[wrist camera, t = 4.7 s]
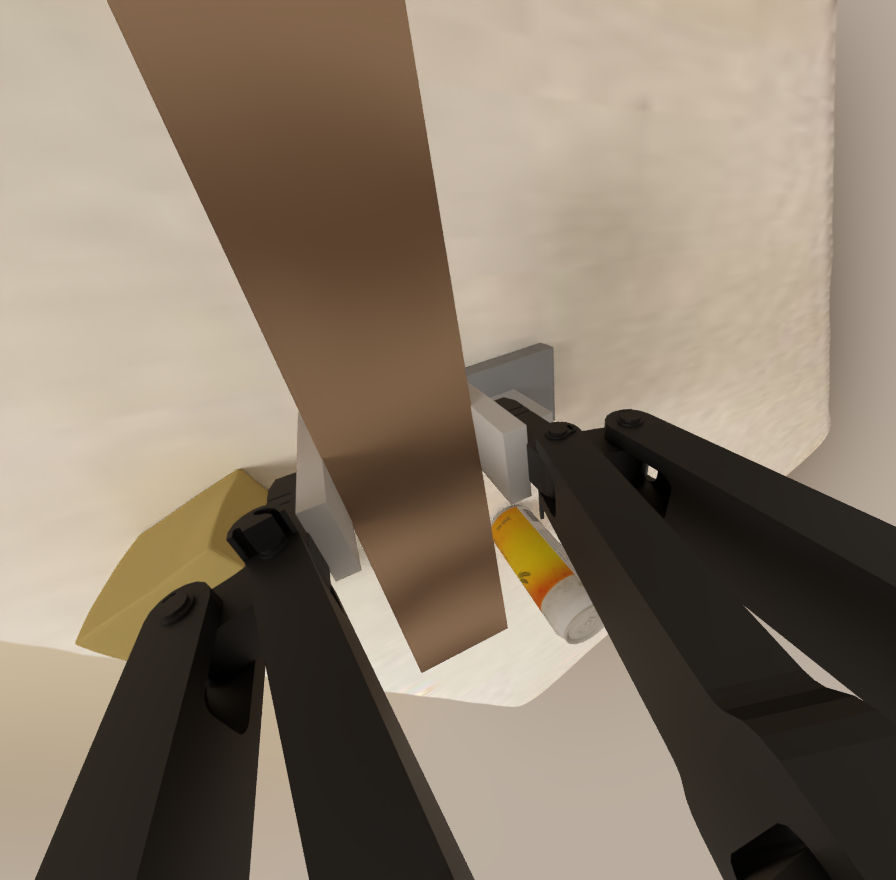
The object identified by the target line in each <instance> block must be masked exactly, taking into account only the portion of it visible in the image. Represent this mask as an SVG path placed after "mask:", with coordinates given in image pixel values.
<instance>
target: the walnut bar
mask: <svg viewBox="0 0 896 880" xmlns="http://www.w3.org/2000/svg"><path fill="white" fill-rule="evenodd" d="M107 2H108V4H109V6H110V8H111V11H112V13H113V15H114V17H115V19H116V21H117V23H118V25H119V28H120V30H121V32H122V34H123V36H124V38H125V40H126V43H127V45H128V47H129V49H130V51H131V53H132V55H133V57H134V60H135V62H136V64H137V66H138V68H139V70H140V72H141V75H142V77H143V79H144V81H145V83H146V85H147V87H148V90H149V92H150V94H151V96H152V98H153V100H154V102H155V104H156V107H157V109H158V111H159V113H160V115H161V117H162V119H163V122H164V124H165V126H166V128H167V130H168V132H169V134H170V137H171V139H172V141H173V143H174V145H175V147H176V149H177V151H178V154H179V156H180V158H181V160H182V162H183V164H184V166H185V169H186V171H187V173H188V175H189V177H190V179H191V181H192V184H193V186H194V188H195V190H196V192H197V194H198V196H199V198H200V201H201V203H202V205H203V207H204V209H205V211H206V213H207V216H208V218H209V220H210V222H211V224H212V226H213V228H214V230H215V233H216V235H217V237H218V239H219V241H220V243H221V245H222V248H223V250H224V252H225V254H226V256H227V258H228V260H229V263H230V265H231V267H232V269H233V271H234V273H235V275H236V277H237V280H238V282H239V284H240V286H241V288H242V290H243V292H244V295H245V297H246V299H247V301H248V303H249V305H250V307H251V310H252V312H253V314H254V316H255V318H256V320H257V322H258V324H259V327H260V329H261V331H262V333H263V335H264V337H265V339H266V342H267V344H268V346H269V348H270V350H271V352H272V354H273V357H274V359H275V361H276V363H277V365H278V367H279V369H280V371H281V374H282V376H283V378H284V380H285V382H286V384H287V386H288V389H289V391H290V393H291V395H292V397H293V399H294V401H295V404H296V406H297V408H298V410H299V412H300V414H301V416H302V418H303V421H304V423H305V425H306V427H307V429H308V431H309V433H310V436H311V438H312V440H313V442H314V444H315V446H316V448H317V450H318V453H319V455H320V457H321V459H322V460H323V462H324V464H325V466H326V468H327V470H328V472H329V474H330V476H331V479H332V481H333V483H334V485H335V487H336V489H337V491H338V493H339V495H340V497H341V499H342V501H343V504H344V506H345V508H346V510H347V512H348V514H349V516H350V518H351V520H352V523H353V527H354V530H355V532H356V534H357V536H358V538H359V540H360V542H361V544H362V547H363V549H364V551H365V553H366V555H367V557H368V559H369V562H370V564H371V566H372V568H373V570H374V572H375V574H376V577H377V579H378V581H379V583H380V585H381V587H382V589H383V591H384V594H385V596H386V598H387V600H388V602H389V604H390V606H391V609H392V611H393V613H394V615H395V617H396V619H397V621H398V623H399V626H400V628H401V630H402V632H403V634H404V636H405V638H406V641H407V643H408V645H409V647H410V649H411V651H412V653H413V656H414V658H415V660H416V662H417V664H418V666H419V668H420V670H421V673H423V672H425V671H426V670H428V669H430V668H432V667H434V666H436V665H438V664H440V663H442V662H444V661H446V660H448V659H449V658H451V657H453V656H455V655H457V654H459V653H461V652H463V651H465V650H467V649H469V648H471V647H473V646H474V645H476V644H478V643H480V642H482V641H484V640H486V639H488V638H490V637H492V636H494V635H496V634H497V633H499V632H501V631H503V630H505V629H507V628H508V627H507V620H506V614H505V608H504V602H503V596H502V590H501V584H500V578H499V572H498V566H497V559H496V553H495V547H494V541H493V535H492V529H491V523H490V517H489V511H488V505H487V498H486V492H485V486H484V480H483V474H482V469H481V463H480V457H479V452H478V446H477V440H476V434H475V429H474V423H473V417H472V411H471V401H470V395H469V389H468V383H467V377H466V370H465V364H464V358H463V352H462V346H461V340H460V334H459V328H458V322H457V316H456V309H455V303H454V297H453V291H452V285H451V279H450V273H449V267H448V261H447V255H446V248H445V242H444V236H443V230H442V224H441V218H440V212H439V206H438V200H437V194H436V188H435V181H434V175H433V169H432V163H431V157H430V151H429V145H428V139H427V133H426V127H425V120H424V114H423V108H422V102H421V96H420V90H419V84H418V78H417V72H416V66H415V59H414V53H413V47H412V41H411V35H410V29H409V23H408V17H407V11H406V5H405V0H107Z"/></svg>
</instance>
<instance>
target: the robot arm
mask: <svg viewBox="0 0 896 880" xmlns="http://www.w3.org/2000/svg"><path fill="white" fill-rule="evenodd" d="M467 383H468V389H469V395H470V401H471V411H472V417H473V423H474V429H475V434H476V440H477V446H478V452H479V457H480V463H481V469H482V471H483V472H484V473H485V474H486V475H487V477H488V478H489V479H490V480H491V481H492V482H493V484H494V485H495V486H496V487H497V488H498V490H499V491H500V492H501V493H502V494H503V495H504V497H505V498H506V499H507V500H508V501H509V502H510V504H514V503H516V502H518V501H521V500H523V499H525V498H528V497H530V496H531V483H532V484H533V485H534V486H535V487H536V488H537V489H538V493H539V511H540V518H541V519H544V511H545V513H546V515H547V517H548V519H549V521H550V523H551V525H552V527H553V529H554V530H555V532H556V534H557V536H558V538H559V540H560V542H561V544H562V546H563V548H564V550H565V552H566V554H567V555H568V557H569V559H570V561H571V563H572V565H573V567H574V569H575V571H576V573H577V575H578V577H579V579H580V580H581V582H582V584H583V586H584V588H585V590H586V592H587V594H588V596H589V598H590V600H591V602H592V604H593V606H594V607H595V609H596V611H597V613H598V615H599V617H600V619H601V621H602V623H603V625H604V627H605V629H606V631H607V632H608V634H609V636H610V638H611V640H612V642H613V644H614V646H615V648H616V650H617V652H618V654H619V656H620V657H621V659H622V661H623V663H624V665H625V667H626V669H627V671H628V673H629V675H630V677H631V679H632V681H633V682H634V684H635V686H636V688H637V690H638V692H639V694H640V696H641V698H642V700H643V702H644V703H645V705H646V708H647V709H648V711H649V713H650V715H651V717H652V719H653V721H654V723H655V725H656V726H657V729H658V730H659V733H660V734H661V736H662V738H663V740H664V742H665V744H666V746H667V748H668V750H669V752H670V754H671V756H672V758H673V759H674V762H675V764H676V766H677V769H678V771H679V774H680V777H681V780H682V784H683V788H684V792H685V796H686V800H687V803H688V805H689V808H690V810H691V813H692V816H693V818H694V820H695V822H696V825H697V827H698V829H699V831H700V833H701V836H702V837H703V839H704V841H705V844H706V845H707V848H708V850H709V852H710V854H711V855H712V857H713V859H714V861H715V863H716V865H717V867H718V869H719V871H720V873H721V875H722V877H723V879H724V880H896V527H895V526H893V525H891V524H889V523H886V522H884V521H882V520H880V519H878V518H876V517H873V516H871V515H869V514H867V513H865V512H862V511H860V510H858V509H856V508H854V507H852V506H849V505H847V504H845V503H843V502H841V501H838V500H836V499H834V498H832V497H830V496H827V495H825V494H823V493H821V492H819V491H817V490H814V489H812V488H810V487H808V486H805V485H803V484H801V483H799V482H797V481H795V480H793V479H790V478H788V477H786V476H784V475H782V474H779V473H777V472H775V471H773V470H771V469H769V468H766V467H764V466H762V465H760V464H758V463H755V462H753V461H751V460H749V459H747V458H744V457H742V456H740V455H738V454H736V453H734V452H731V451H729V450H727V449H725V448H723V447H720V446H718V445H716V444H714V443H712V442H709V441H707V440H705V439H703V438H701V437H699V436H696V435H694V434H692V433H690V432H688V431H685V430H683V429H681V428H679V427H677V426H675V425H672V424H670V423H668V422H666V421H664V420H661V419H659V418H657V417H655V416H653V415H650V414H648V413H645V412H642V411H639V410H632V409H626V410H625V409H623V410H619V411H615V412H612V413H610V414H609V415H607V417H606V419H605V427H604V428H598V429H592V430H587V431H581V430H580V429H579V428H578V427H577V426H575V425H574V424H570V423H567V422H551V423H549V422H548V421H546V420H545V419H543V418H542V417H540V416H539V415H537V414H536V413H534V412H533V411H530V409H528V408H527V407H525V406H523V405H522V404H521V403H519V402H518V401H516V400H513V399H509V398H505V397H502V398H500V399H497V400H494V401H493V400H492V399H490V398H489V397H488V396H486V395H485V394H484V393H482V392H481V391H480V390H478V389H477V388H476V387H474V386H473V385H472V384H470V383H469V382H468V381H467ZM648 466H651V467H652V468H654V469H656V470H657V471H658V474H657V478H656V479H654V478H652V477H650V476H649V475H647V472H648ZM226 541H227V542H228V543H229V544H230V546H231V547H232V548H233V549H234V551H235V552H236V553H237V554H238V556H239V557H240V558H241V559H242V561H243V562H244V563H245V567H244V568H243V569H241V570H240V571H239V572H237V573H236V574H234V575H233V576H231V577H230V578H228V579H227V580H225V581H224V582H222V583H220V584H219V585H217V586H216V587H214V588H213V589H212V588H211V587H210V586H209V585H208V584H207V583H206V582H199V581H196V582H192V583H189V584H185V585H183V586H182V587H180V588H178V589H176V590H174V591H172V592H171V593H170V594H168V595H167V596H166V597H164V598H163V599H162V600H161V601H160V602H159V603H158V604H157V605H156V606H155V607H154V608H153V609H152V610H151V611H150V613H149V614H148V616H147V618H146V619H145V621H144V623H143V625H142V627H141V629H140V632H139V634H138V637H137V639H136V641H135V644H134V646H133V648H132V651H131V653H130V655H129V658H128V660H127V663H126V665H125V667H124V670H123V672H122V675H121V677H120V680H119V681H118V684H117V686H116V689H115V691H114V694H113V696H112V698H111V701H110V703H109V705H108V708H107V710H106V712H105V715H104V717H103V719H102V722H101V724H100V726H99V729H98V731H97V734H96V736H95V738H94V741H93V743H92V746H91V748H90V750H89V752H88V755H87V758H86V760H85V762H84V764H83V767H82V769H81V771H80V774H79V776H78V779H77V781H76V784H75V786H74V788H73V791H72V793H71V795H70V798H69V800H68V802H67V805H66V807H65V809H64V812H63V814H62V817H61V819H60V821H59V824H58V826H57V828H56V831H55V833H54V835H53V838H52V840H51V842H50V845H49V847H48V850H47V852H46V854H45V857H44V859H43V861H42V864H41V866H40V869H39V871H38V873H37V876H36V878H35V880H249V874H250V860H251V848H252V835H253V821H254V809H255V795H256V781H257V768H258V756H259V743H260V730H261V717H262V704H263V691H264V678H265V665H266V670H267V675H268V680H269V685H270V690H271V695H272V700H273V705H274V709H275V715H276V719H277V724H278V729H279V734H280V739H281V744H282V748H283V754H284V758H285V764H286V768H287V773H288V778H289V783H290V788H291V793H292V798H293V803H294V808H295V813H296V818H297V823H298V827H299V832H300V837H301V842H302V847H303V852H304V857H305V861H306V866H307V872H308V876H309V880H474V878H473V876H472V873H471V871H470V870H469V867H468V865H467V863H466V861H465V859H464V857H463V855H462V853H461V851H460V849H459V846H458V844H457V842H456V840H455V838H454V836H453V834H452V832H451V830H450V828H449V826H448V824H447V822H446V819H445V817H444V816H443V813H442V811H441V809H440V807H439V805H438V803H437V801H436V799H435V797H434V795H433V793H432V791H431V788H430V786H429V784H428V783H427V780H426V778H425V776H424V774H423V772H422V770H421V768H420V766H419V763H418V761H417V759H416V757H415V755H414V753H413V751H412V749H411V747H410V745H409V743H408V741H407V739H406V737H405V734H404V733H403V730H402V728H401V726H400V724H399V722H398V720H397V718H396V716H395V714H394V712H393V709H392V707H391V705H390V703H389V701H388V699H387V697H386V695H385V693H384V691H383V689H382V687H381V685H380V682H379V680H378V678H377V676H376V674H375V672H374V670H373V668H372V666H371V664H370V662H369V660H368V658H367V655H366V653H365V651H364V649H363V647H362V645H361V643H360V641H359V639H358V637H357V635H356V633H355V631H354V628H353V626H352V624H351V622H350V620H349V618H348V616H347V614H346V612H345V610H344V608H343V606H342V604H341V601H340V599H339V597H338V595H337V593H336V592H335V590H334V588H333V587H332V585H331V582H330V572H331V574H332V576H333V577H334V579H335V581H338V580H340V579H343V578H345V577H347V576H349V575H352V574H354V573H356V572H359V571H361V565H360V560H359V554H358V549H357V544H356V539H355V533H354V528H353V523H352V520H351V518H350V516H349V514H348V512H347V510H346V508H345V506H344V504H343V501H342V499H341V497H340V495H339V493H338V491H337V489H336V487H335V485H334V483H333V481H332V479H331V476H330V474H329V472H328V470H327V468H326V466H325V464H324V462H323V460H322V459H321V457H320V455H319V453H318V450H317V448H316V446H315V444H314V442H313V440H312V438H311V436H310V433H309V431H308V429H307V427H306V425H305V423H304V421H303V418H302V416H301V414H300V412H298V434H297V472H296V473H293V474H290V475H287V476H285V477H282V478H279V479H276V480H275V482H274V483H273V484H272V486H271V487H270V489H269V490H268V495H267V503H266V505H264V506H261V507H258V508H256V509H253V510H251V511H250V512H248V513H247V514H245V515H243V516H242V517H241V518H240V519H238V520H237V521H236V522H235V523H234V524H233V525H232V527H231V528H230V530H229V531H228V533H227V538H226ZM743 605H744V606H745V607H747V608H748V609H749V610H750V611H752V612H753V613H754V614H755V615H757V616H758V617H759V618H760V619H762V620H763V621H764V622H765V623H767V624H768V625H769V626H770V627H772V628H773V629H774V630H775V631H777V632H778V633H779V634H780V635H782V636H783V637H784V638H785V639H787V640H788V641H789V642H790V643H792V644H793V645H794V646H796V647H797V648H798V649H799V650H800V651H802V652H803V653H804V654H805V655H807V656H808V657H809V658H810V659H812V660H813V661H814V662H815V663H817V664H818V665H819V666H820V667H822V668H823V669H824V670H825V671H827V672H828V673H829V674H831V675H832V676H833V677H834V678H836V679H837V680H838V681H839V682H840V683H842V684H843V685H844V686H846V687H847V688H848V689H849V690H851V691H852V692H853V693H854V694H856V695H857V696H858V697H859V698H861V699H862V700H863V701H862V700H861V699H859V698H857V697H855V696H853V695H850V694H847V693H843V692H840V691H837V690H833V689H830V688H826V687H824V686H823V685H821V684H820V683H818V682H817V681H815V680H813V679H812V678H811V677H810V676H809V675H808V674H807V673H806V672H805V671H804V670H803V669H802V668H801V667H800V666H799V665H798V664H797V663H796V662H795V661H794V660H793V659H792V657H791V656H790V655H789V654H788V653H787V652H786V651H785V650H784V649H783V648H782V647H781V646H780V644H779V643H778V642H777V641H776V640H775V639H774V638H773V637H772V636H771V635H770V634H769V633H768V631H767V630H766V629H765V628H764V627H763V626H762V625H761V624H760V623H759V622H758V621H757V620H756V619H755V617H754V616H753V615H752V614H751V613H750V612H749V611H748V610H747V609H746V608H745V607H744V606H743ZM865 702H866V703H865Z"/></svg>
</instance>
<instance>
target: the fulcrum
mask: <svg viewBox="0 0 896 880" xmlns="http://www.w3.org/2000/svg"><path fill="white" fill-rule="evenodd" d="M465 370H466V377H467V381H468V382H469V383H470V384H472V385H473V386H474V387H476V388H477V389H478V390H480V391H481V392H482V393H484V394H485V395H486V396H488V397H489V398H490V399H492V400H493V401H494V400H497V399H500V398H502V397H505V398H509V399H513V400H516V401H518V402H519V403H521V404H522V405H523V406H525V407H527V408H528V409H530V411H533V412H534V413H536V414H537V415H539V416H540V417H542V418H543V419H545V420H546V421H548V422H549V423H551V422H553V421H554V420H555V405H554V363H553V347H551V346H548V345H545V344H542V343H539V344H536V345H533V346H530V347H527V348H524V349H521V350H518V351H515V352H512V353H509V354H506V355H503V356H500V357H496V358H493V359H490V360H487V361H484V362H481V363H478V364H475V365H472V366H469V367H466V368H465Z"/></svg>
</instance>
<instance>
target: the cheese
mask: <svg viewBox="0 0 896 880" xmlns="http://www.w3.org/2000/svg"><path fill="white" fill-rule="evenodd" d="M267 495H268V491H267V490H266V489H265V488H263V487H262V486H261V485H260V484H259V483H257V482H256V481H255V480H254V479H253V478H252V477H250V476H249V475H248V474H247V473H245V472H244V471H243V470H241V469H237V470H236V471H234V472H233V473H231V474H229V475H228V476H226V477H225V478H223V479H222V480H220V481H219V482H217V483H216V484H214V485H212V486H211V487H209V488H208V489H206V490H205V491H203V492H202V493H200V494H199V495H197V496H196V497H194V498H193V499H191V500H190V501H189V502H187V503H186V504H184V505H183V506H181V507H180V508H179V509H177V510H176V511H174V512H173V513H171V514H170V515H169V516H167V517H166V518H165V519H163V520H162V521H160V522H159V523H157V524H156V525H154V526H153V527H151V528H150V529H148V530H147V531H145V532H143V533H142V534H140V535H139V536H138V538H137V539H136V541H135V542H134V543H133V544H132V546H131V547H130V548H129V550H128V551H127V552H126V554H125V555H124V557H123V558H122V559H121V561H120V562H119V564H118V565H117V567H116V568H115V570H114V572H113V573H112V575H111V576H110V578H109V580H108V581H107V583H106V584H105V586H104V588H103V589H102V591H101V593H100V594H99V596H98V598H97V599H96V601H95V603H94V604H93V606H92V608H91V610H90V612H89V613H88V615H87V617H86V620H85V622H84V624H83V626H82V628H81V630H80V633H79V635H78V637H77V640H76V643H75V644H76V645H78V646H81V647H83V648H86V649H89V650H91V651H94V652H97V653H101V654H104V655H107V656H111V657H114V658H118V659H122V660H125V661H127V660H128V658H129V655H130V653H131V651H132V648H133V646H134V644H135V641H136V639H137V637H138V634H139V632H140V629H141V627H142V625H143V623H144V621H145V619H146V618H147V616H148V614H149V613H150V611H151V610H152V609H153V608H154V607H155V606H156V605H157V604H158V603H159V602H160V601H161V600H162V599H163V598H164V597H166V596H167V595H168V594H170V593H171V592H172V591H174V590H176V589H178V588H180V587H182V586H183V585H185V584H189V583H192V582H196V581H199V582H206V583H207V584H208V585H209V586H210V587H211V588H212V589H213V588H214V587H216V586H217V585H219V584H220V583H222V582H224V581H225V580H227V579H228V578H230V577H231V576H233V575H234V574H236V573H237V572H239V571H240V570H241V569H243V568H244V567H245V563H244V562H243V561H242V559H241V558H240V557H239V556H238V554H237V553H236V552H235V551H234V549H233V548H232V547H231V546H230V544H229V543H228V542H227V541H226V538H227V533H228V531H229V530H230V528H231V527H232V525H233V524H234V523H235V522H236V521H237V520H238V519H240V518H241V517H242V516H243V515H245V514H247V513H248V512H250V511H251V510H253V509H256V508H258V507H261V506H264V505H266V503H267Z"/></svg>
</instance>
